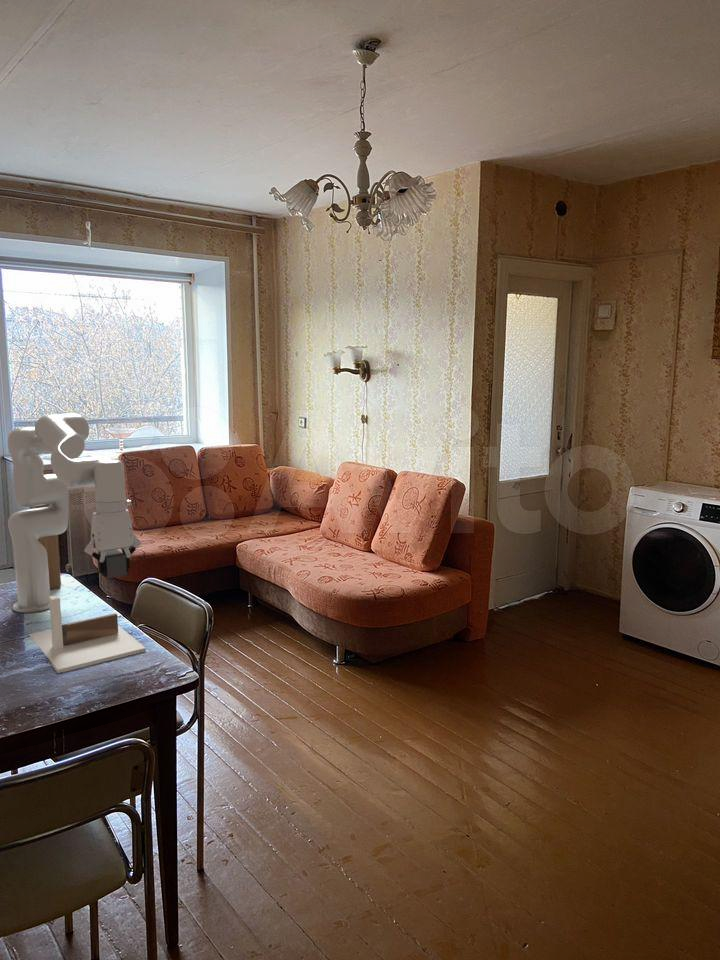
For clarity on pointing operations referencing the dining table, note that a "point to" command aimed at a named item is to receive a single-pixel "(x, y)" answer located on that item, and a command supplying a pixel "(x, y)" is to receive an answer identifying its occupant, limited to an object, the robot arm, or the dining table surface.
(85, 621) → the wooden slat
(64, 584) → the dining table surface
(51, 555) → the wooden block
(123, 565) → the block
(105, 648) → the cream base with post
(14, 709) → the dining table surface
